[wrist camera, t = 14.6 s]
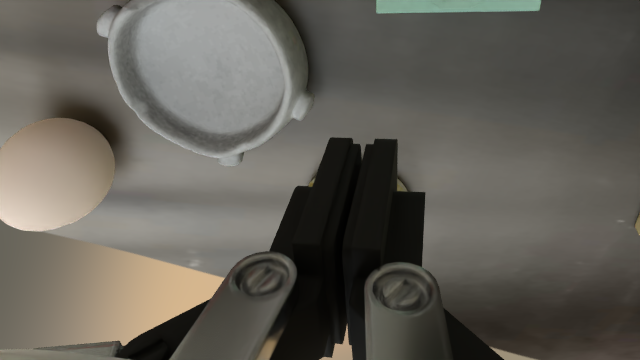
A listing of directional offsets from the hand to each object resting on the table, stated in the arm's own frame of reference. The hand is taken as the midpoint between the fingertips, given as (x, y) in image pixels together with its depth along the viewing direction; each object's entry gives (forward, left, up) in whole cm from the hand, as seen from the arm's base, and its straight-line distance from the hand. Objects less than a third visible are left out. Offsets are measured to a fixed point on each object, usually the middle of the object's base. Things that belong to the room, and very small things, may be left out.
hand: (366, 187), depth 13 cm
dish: (+6, -14, -25) cm, 29 cm away
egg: (+14, -29, -25) cm, 41 cm away
